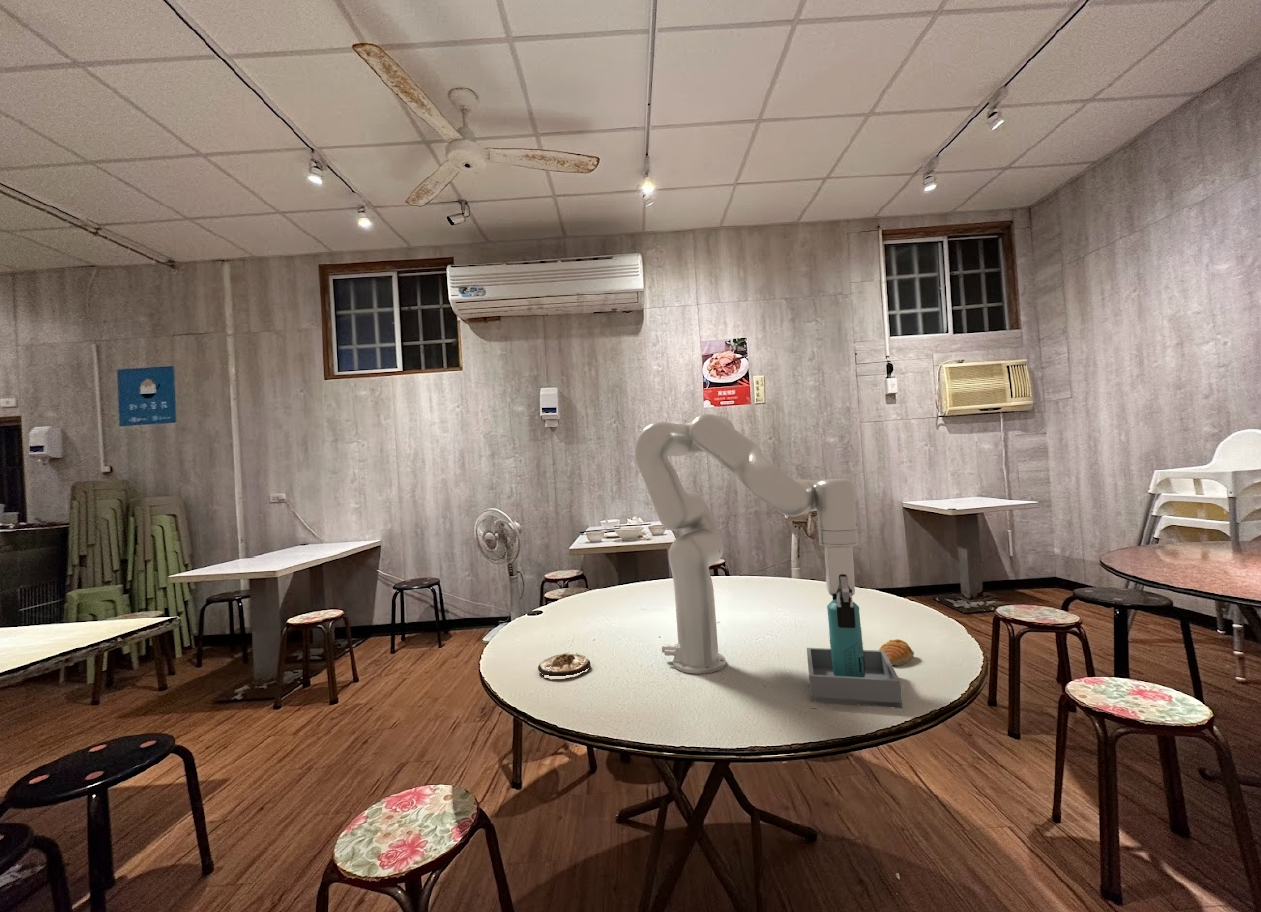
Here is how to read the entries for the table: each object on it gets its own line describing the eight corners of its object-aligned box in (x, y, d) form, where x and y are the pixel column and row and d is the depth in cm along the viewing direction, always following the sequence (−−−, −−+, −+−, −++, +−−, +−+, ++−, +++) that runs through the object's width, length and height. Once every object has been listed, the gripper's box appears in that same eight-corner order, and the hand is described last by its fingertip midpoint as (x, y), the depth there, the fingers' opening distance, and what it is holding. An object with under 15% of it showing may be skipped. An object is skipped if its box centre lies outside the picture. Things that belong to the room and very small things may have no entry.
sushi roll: (549, 690, 111) (547, 671, 112) (525, 671, 124) (524, 654, 124) (605, 672, 119) (604, 655, 120) (578, 656, 132) (577, 640, 132)
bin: (811, 701, 97) (809, 676, 97) (808, 669, 112) (806, 647, 112) (902, 708, 92) (900, 681, 92) (886, 674, 107) (884, 650, 107)
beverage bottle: (864, 691, 98) (856, 589, 99) (829, 685, 101) (821, 587, 102) (868, 678, 103) (860, 582, 104) (835, 673, 107) (827, 580, 108)
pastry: (904, 670, 109) (902, 653, 109) (871, 664, 114) (870, 647, 114) (915, 657, 116) (914, 640, 116) (884, 651, 121) (883, 636, 121)
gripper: (816, 532, 113) (822, 608, 112) (821, 544, 96) (828, 632, 96) (852, 532, 111) (858, 609, 110) (863, 543, 94) (870, 634, 93)
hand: (844, 620), depth 103 cm, fingers open, 9 cm apart
